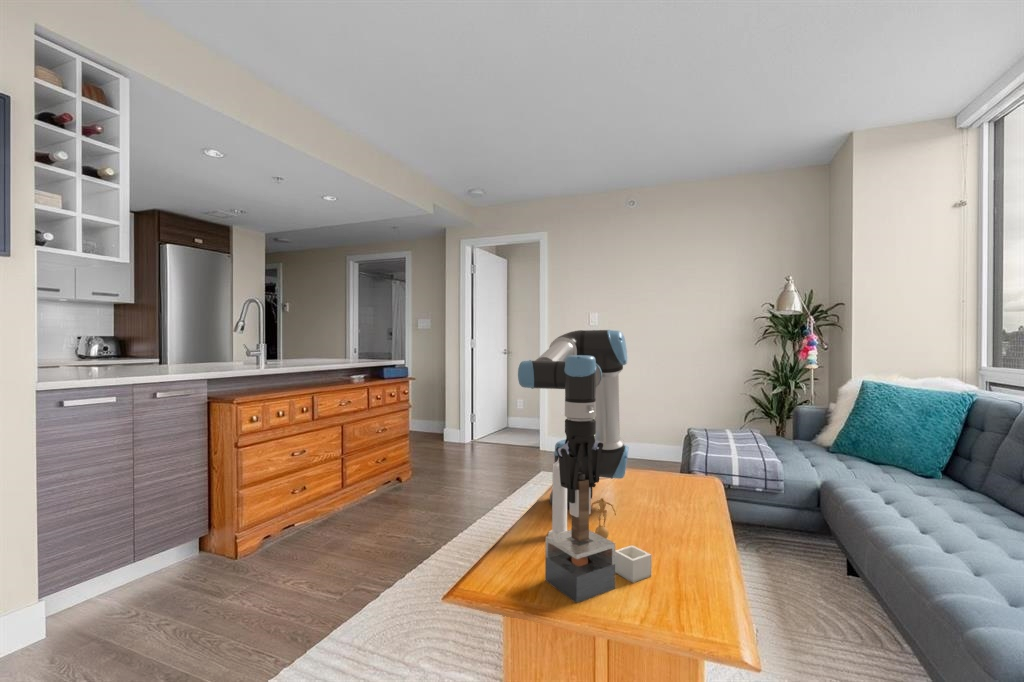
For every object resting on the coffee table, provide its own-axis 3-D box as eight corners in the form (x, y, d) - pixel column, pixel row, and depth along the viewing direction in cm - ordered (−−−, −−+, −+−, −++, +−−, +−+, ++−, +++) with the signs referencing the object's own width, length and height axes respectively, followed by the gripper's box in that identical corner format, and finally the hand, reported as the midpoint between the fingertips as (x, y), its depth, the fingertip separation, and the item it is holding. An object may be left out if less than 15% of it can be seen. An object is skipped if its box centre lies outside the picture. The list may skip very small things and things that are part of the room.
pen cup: (613, 572, 124) (613, 550, 124) (632, 565, 127) (632, 545, 127) (632, 583, 118) (632, 560, 118) (651, 576, 122) (651, 554, 122)
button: (568, 581, 118) (568, 557, 118) (580, 577, 120) (580, 553, 120) (578, 588, 114) (578, 563, 114) (591, 584, 116) (591, 559, 116)
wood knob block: (571, 537, 118) (571, 472, 118) (580, 534, 120) (580, 471, 119) (579, 542, 115) (579, 475, 115) (588, 539, 117) (588, 474, 117)
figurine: (587, 540, 143) (587, 500, 143) (589, 532, 149) (589, 494, 149) (615, 543, 141) (615, 502, 141) (616, 535, 147) (616, 496, 147)
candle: (543, 536, 146) (543, 454, 146) (557, 529, 152) (557, 450, 152) (561, 542, 142) (562, 458, 142) (575, 535, 147) (576, 454, 147)
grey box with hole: (545, 580, 119) (545, 536, 119) (582, 568, 125) (582, 526, 125) (576, 603, 109) (576, 554, 109) (615, 588, 115) (615, 543, 115)
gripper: (563, 424, 110) (563, 525, 110) (615, 417, 118) (614, 512, 119) (544, 419, 116) (544, 515, 116) (594, 413, 125) (594, 503, 125)
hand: (580, 513), depth 117 cm, fingers closed on wood knob block, 3 cm apart
